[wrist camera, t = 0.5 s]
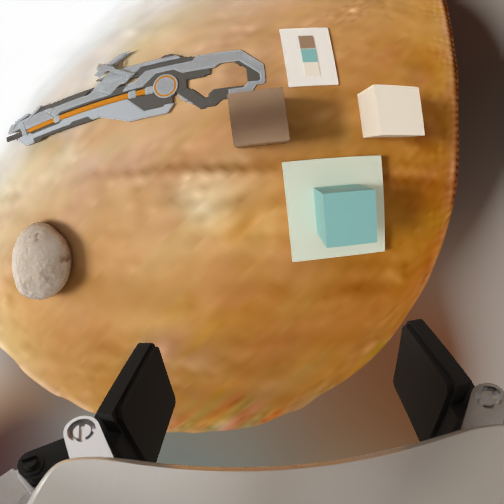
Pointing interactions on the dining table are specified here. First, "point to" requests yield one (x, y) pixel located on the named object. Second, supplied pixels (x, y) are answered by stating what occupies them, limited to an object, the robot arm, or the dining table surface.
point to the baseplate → (303, 205)
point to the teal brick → (346, 215)
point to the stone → (41, 261)
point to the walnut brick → (258, 117)
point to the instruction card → (308, 57)
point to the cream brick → (391, 111)
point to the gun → (136, 93)
